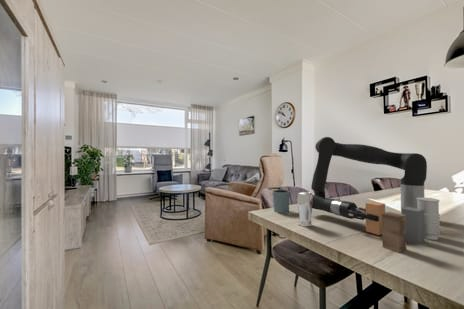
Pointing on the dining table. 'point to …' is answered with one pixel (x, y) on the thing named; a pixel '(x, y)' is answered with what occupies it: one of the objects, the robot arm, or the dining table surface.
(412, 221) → the grey block
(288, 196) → the grey-green cup
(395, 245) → the walnut block
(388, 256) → the dining table surface
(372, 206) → the orange block
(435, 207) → the grey ribbed canister
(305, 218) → the beer glass
